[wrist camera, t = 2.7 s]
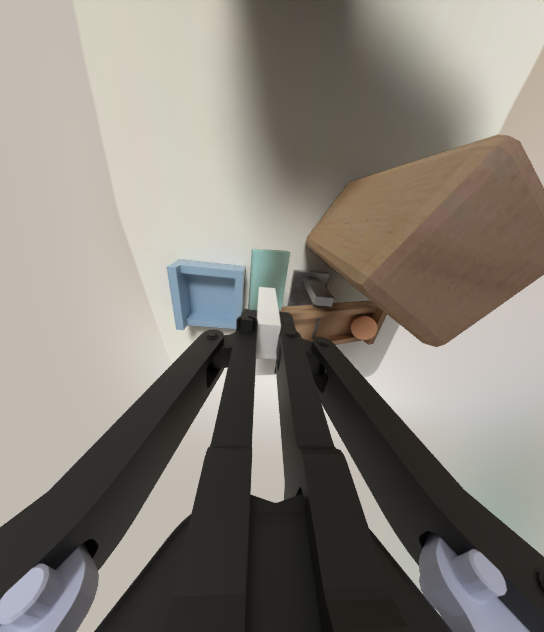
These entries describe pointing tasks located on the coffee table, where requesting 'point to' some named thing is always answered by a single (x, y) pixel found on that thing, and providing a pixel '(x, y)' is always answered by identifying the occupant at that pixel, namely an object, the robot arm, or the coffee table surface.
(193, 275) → the blue square tray
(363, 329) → the ball
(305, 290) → the fulcrum
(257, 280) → the lever
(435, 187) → the wooden block
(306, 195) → the coffee table surface
